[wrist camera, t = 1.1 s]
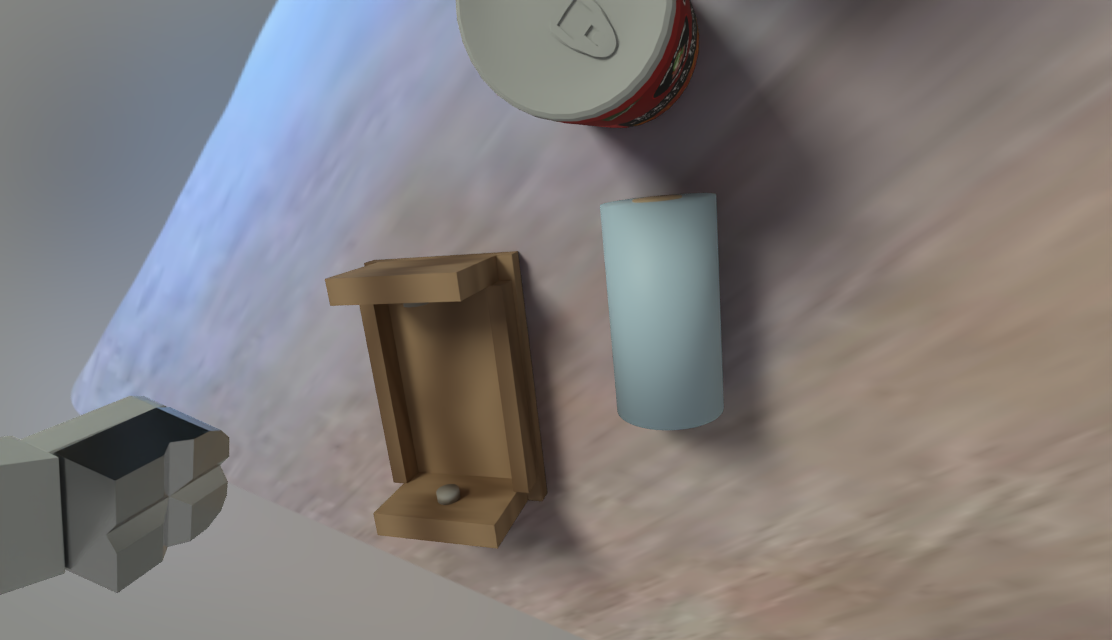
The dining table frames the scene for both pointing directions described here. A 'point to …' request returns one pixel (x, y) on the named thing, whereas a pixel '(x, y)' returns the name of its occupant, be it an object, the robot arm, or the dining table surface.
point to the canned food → (583, 56)
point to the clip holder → (451, 392)
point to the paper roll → (664, 309)
